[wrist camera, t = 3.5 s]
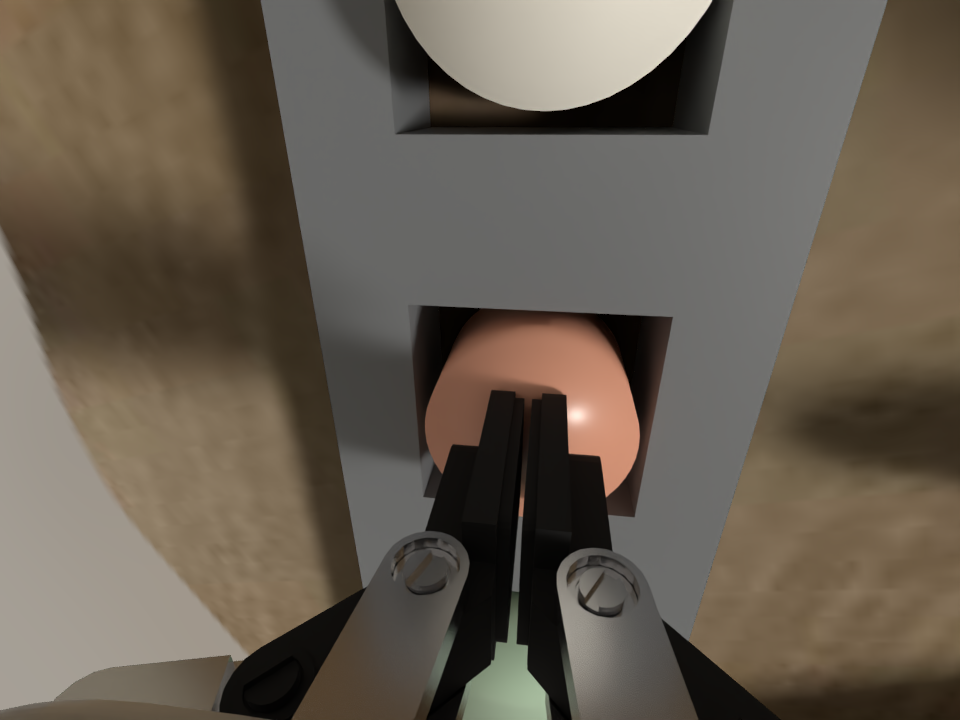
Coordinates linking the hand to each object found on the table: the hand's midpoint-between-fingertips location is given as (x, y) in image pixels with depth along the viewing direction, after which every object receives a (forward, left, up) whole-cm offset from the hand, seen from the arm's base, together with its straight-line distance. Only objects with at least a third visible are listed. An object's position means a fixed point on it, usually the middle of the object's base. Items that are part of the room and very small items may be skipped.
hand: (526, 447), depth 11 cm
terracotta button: (0, 0, -3) cm, 3 cm away
